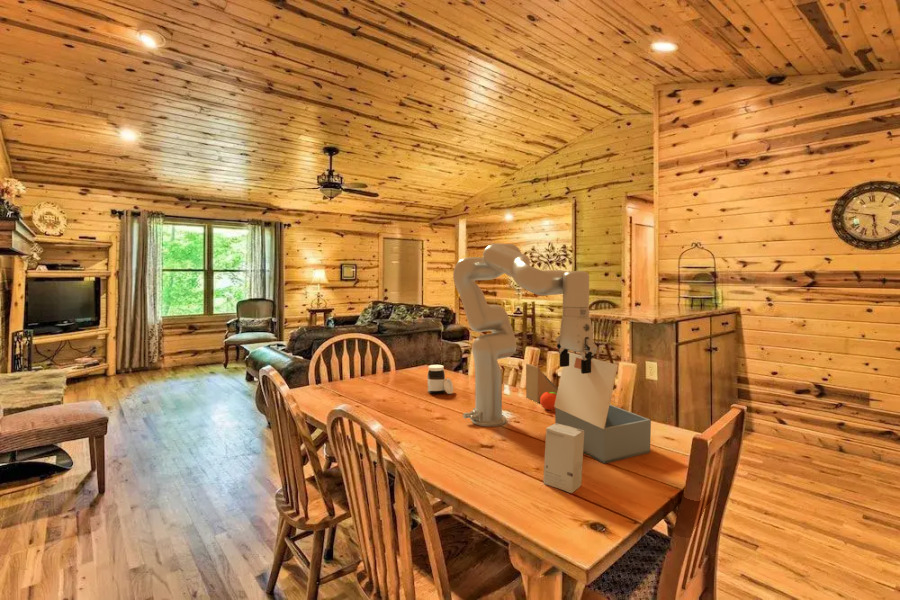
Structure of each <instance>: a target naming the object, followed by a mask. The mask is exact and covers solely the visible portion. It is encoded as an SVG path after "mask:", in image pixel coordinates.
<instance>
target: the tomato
mask: <svg viewBox="0 0 900 600" xmlns="http://www.w3.org/2000/svg"><path fill="white" fill-rule="evenodd" d="M555 394H557V393H555ZM555 394H554V392H545V393H544V394H542V396H541V398H540V403H539V404H540V405H541V407H542V408H543V409H545V410H548V411H551V410H555V407H554V405H555V400H556V395H555Z"/></svg>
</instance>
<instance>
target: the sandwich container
mask: <svg viewBox="0 0 900 600" xmlns="http://www.w3.org/2000/svg"><path fill="white" fill-rule="evenodd" d="M525 389H526V390H525V391H526V393H525V394H526V395H525V396H526V397H525V398H526V399H527V398H528V400H529V399H530V401H532V400H533V401H532V402H534V401H535V402H534V403H536V402H537V403H536V404H540V403H539V402H540V398H541V396H542V394H544V393H545V392H554V394H555V393H557V391H558V387H557V386H556V385H555V383H553V382H552V381H551V379H549V377H548V376H547V375H545V373H544V372H543V371H542V370H541V369H540V368H539V367H538V366H535V365H533V364H530V363H526V364H525ZM555 395H556V396H557V394H555Z"/></svg>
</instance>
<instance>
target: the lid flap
mask: <svg viewBox="0 0 900 600" xmlns="http://www.w3.org/2000/svg"><path fill="white" fill-rule="evenodd" d="M568 353H569V366H566V367H561V368H562V369H561V374H560V378H559V384H558V387H557V388H558V391H557V396H556V400H555V405H554V407H556V408H558V409H560V410H562V411H564V412H567V413H569V414H571V415H573V416H575V417H578V418H580V419H582V420H584V421H586V422H589V423H591V424H593V425H595V426H598V427H600V428H602V429H604V428H605V423H606V418H607V414H608V409H609V405H611V399H612V395H613V390H614V385H615V381H616V375H617V371H618V366H619V364H616V363H613V362H609V361H605V360H600V359H596V358H593V359H592V360H591V373H586V374H582V373H581V360H583V358H582V356H581V354H578V353H575V352H572V351H571V352H570V351H568Z"/></svg>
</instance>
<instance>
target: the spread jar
mask: <svg viewBox="0 0 900 600" xmlns="http://www.w3.org/2000/svg"><path fill="white" fill-rule="evenodd" d="M444 370H445V369H444V365H441V364H430V365H428V371H427V392H428V393H429V394H432V395H440V394H443V393H445V392H446V393H447V394H448V395H451V394H453V393H454V384H453V382H452V380H451V378H448V377H447V378H446V373H445V371H444Z"/></svg>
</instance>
